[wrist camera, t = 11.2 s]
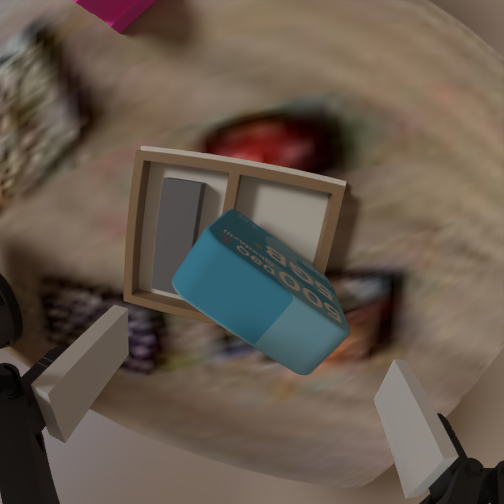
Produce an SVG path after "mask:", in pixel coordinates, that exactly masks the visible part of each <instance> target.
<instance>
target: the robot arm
mask: <svg viewBox="0 0 504 504" xmlns="http://www.w3.org/2000/svg"><path fill="white" fill-rule="evenodd" d="M21 333H22V321H21V315H20V311H19V308H18V305H17V302H16V300H15V297H14V295H13V293H12V291H11V289H10V288H9V286H8V284H7V283H6V281H5V280H4V278H3V277H2V276H1V275H0V349H1V348H5V347H9V346H11V345H12V344H14V343H15V342H16V341H17V340H19V338H20V336H21ZM128 355H129V353H128V309H127V308H123V307H120V306H116V305H114V306H112V307H111V308H110V309H109V310H108V311H107V312H106V313H105V314H104V315H103V316H102V317H100V318H99V319H98V320H97V321H96V322H95V323H94V324H93V325H92V326H91V327H90V328H89V329H88V330H86V331H85V332H84V333H83V334H82V335H81V336H80V337H79V338H78V339H77V340H76V341H75V342H74V343H73V344H72V345H71V346H70V347H69V348H65V347H63V346H59V347H56V348H54V349H52V350H50V351H49V352H48V353H47V354H46V355H45V356H44V357H43V358H41V359H40V360H39V361H38V363H36V364H35V365H34V366H33V367H32V368H31V369H30V370H29V371H27V372H26V373H25V374H24V375H23V376H22V377H20V373H19V370H18V369H17V368H16V366H14V365H12V364H9V363H1V364H0V492H1V498H2V503H3V504H60V503H59V500H58V496H57V493H56V490H55V486H54V482H53V479H52V475H51V471H50V467H49V463H48V458H47V453H46V449H45V444H44V438H43V435H42V432H41V431H42V430H43V429H44V427H45V426H46V427H47V430H48V432H49V434H50V435H51V436H53V437H55V438H57V439H59V440H60V441H63V442H64V443H65V442H66V441H67V439H68V438H69V437H70V435H71V433H72V432H73V431H74V429H75V428H76V427H77V425H78V424H79V422H80V421H81V419H82V418H83V416H84V415H85V414H86V412H87V411H88V410H89V408H90V407H91V405H92V404H93V402H94V401H95V400H96V398H97V397H98V396H99V394H100V393H101V391H102V390H103V389H104V387H105V386H106V384H107V383H108V382H109V380H110V379H111V378H112V376H113V375H114V374H115V372H116V371H117V369H118V368H119V367H120V365H121V364H122V363H123V361H124V360H125V359H126V357H127V356H128ZM373 400H374V403H375V405H376V408H377V411H378V414H379V417H380V420H381V422H382V425H383V428H384V431H385V434H386V437H387V440H388V443H389V446H390V449H391V452H392V456H393V459H394V462H395V465H396V468H397V472H398V474H399V478H400V481H401V485H402V488H403V492H404V495H405V498H411V497H417V496H421V495H422V494H423V493H424V492H425V491H426V490H427V489H428V488H429V490H430V495H428V496H427V497H426V498H425V499H424V500H423V501H422V502H421V503H419V504H489V503H490V502H491V504H504V461H501V462H500V463H498V465H497V466H496V467H495V468H483V465H482V464H481V463H480V462H479V461H478V460H476V459H474V458H467V456H466V454H465V452H464V450H463V448H462V446H461V444H460V442H459V440H458V439H457V437H456V436H455V433H454V431H453V430H452V427H451V425H450V424H449V422H448V420H447V419H446V418H445V417H444V416H443V415H442V414H441V413H439V414H437V413H436V411H435V409H434V408H433V406H432V404H431V402H430V400H429V399H428V397H427V395H426V393H425V391H424V390H423V388H422V386H421V384H420V383H419V381H418V379H417V378H416V376H415V374H414V372H413V371H412V369H411V367H410V366H409V364H408V362H407V361H406V360H399V359H394V360H393V362H392V364H391V366H390V368H389V370H388V372H387V374H386V376H385V378H384V380H383V382H382V384H381V386H380V388H379V390H378V392H377V394H376V396H375V398H374V399H373Z"/></svg>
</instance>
